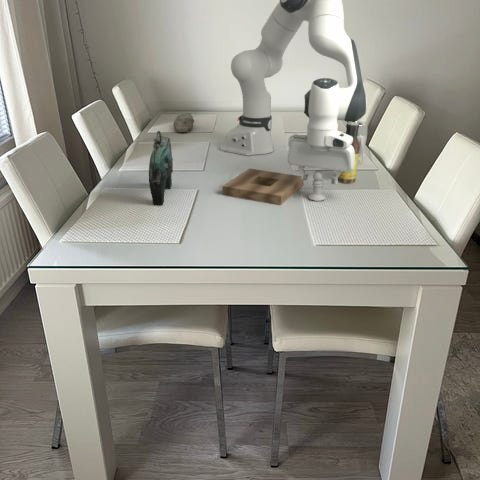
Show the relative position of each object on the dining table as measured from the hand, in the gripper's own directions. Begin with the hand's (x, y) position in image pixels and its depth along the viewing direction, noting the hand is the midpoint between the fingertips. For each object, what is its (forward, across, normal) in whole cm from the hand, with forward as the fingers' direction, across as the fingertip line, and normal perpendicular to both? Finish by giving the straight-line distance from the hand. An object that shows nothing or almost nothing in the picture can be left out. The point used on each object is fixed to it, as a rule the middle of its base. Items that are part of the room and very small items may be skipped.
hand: (319, 181), depth 152 cm
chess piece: (+6, 0, 0) cm, 6 cm away
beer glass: (+6, +1, +42) cm, 42 cm away
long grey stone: (+5, -91, +68) cm, 114 cm away
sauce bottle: (+6, +4, +20) cm, 21 cm away
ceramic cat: (+6, -46, -18) cm, 49 cm away
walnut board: (+5, -18, 0) cm, 19 cm away
